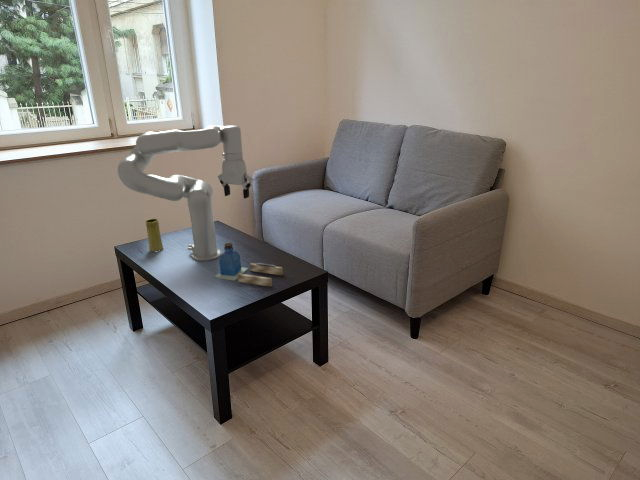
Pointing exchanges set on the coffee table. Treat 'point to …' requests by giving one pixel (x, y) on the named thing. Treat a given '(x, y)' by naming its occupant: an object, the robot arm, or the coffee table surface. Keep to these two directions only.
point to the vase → (154, 235)
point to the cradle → (257, 279)
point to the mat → (231, 276)
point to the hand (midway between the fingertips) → (236, 196)
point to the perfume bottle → (229, 261)
